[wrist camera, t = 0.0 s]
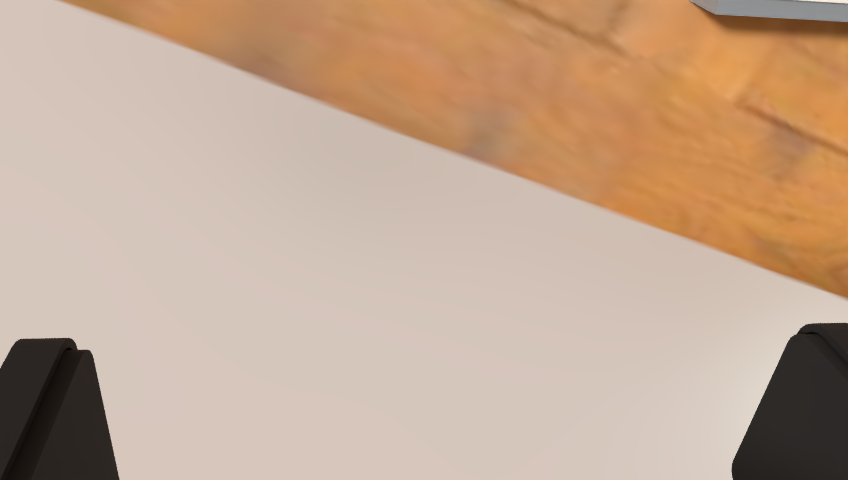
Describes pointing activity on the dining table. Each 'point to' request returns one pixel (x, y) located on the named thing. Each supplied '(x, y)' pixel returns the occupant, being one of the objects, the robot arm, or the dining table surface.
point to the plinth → (780, 8)
